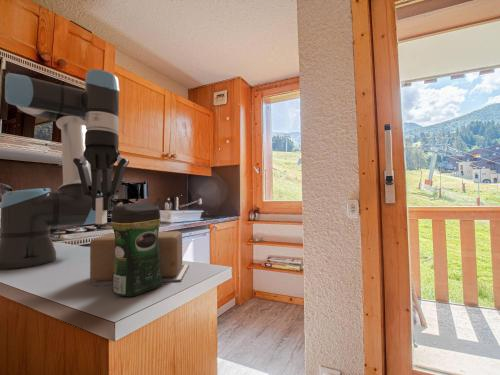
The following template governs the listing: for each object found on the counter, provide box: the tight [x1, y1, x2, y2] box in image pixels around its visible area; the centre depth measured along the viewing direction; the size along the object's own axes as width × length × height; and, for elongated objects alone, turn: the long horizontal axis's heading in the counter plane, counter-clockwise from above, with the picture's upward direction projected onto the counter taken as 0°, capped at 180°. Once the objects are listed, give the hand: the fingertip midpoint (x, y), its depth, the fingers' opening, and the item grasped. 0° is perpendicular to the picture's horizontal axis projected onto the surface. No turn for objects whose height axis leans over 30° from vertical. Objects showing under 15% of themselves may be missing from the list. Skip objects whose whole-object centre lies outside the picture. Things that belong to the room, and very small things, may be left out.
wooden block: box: [89, 230, 183, 282], centre depth 63 cm, size 10×10×20 cm
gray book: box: [91, 264, 190, 287], centre depth 64 cm, size 13×20×1 cm, turn 96°
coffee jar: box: [110, 202, 163, 297], centre depth 53 cm, size 10×8×19 cm
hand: (101, 223), depth 63 cm, fingers closed
